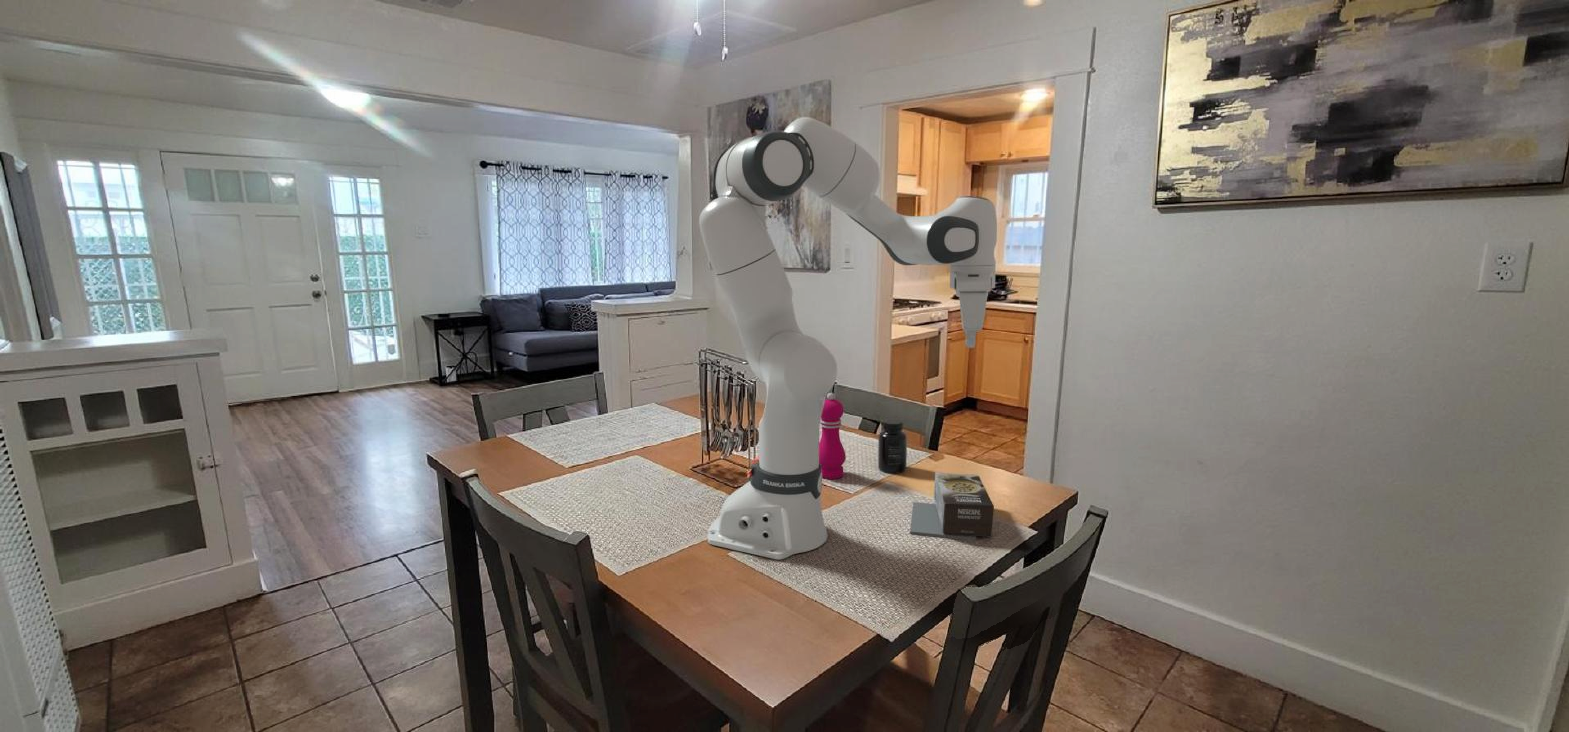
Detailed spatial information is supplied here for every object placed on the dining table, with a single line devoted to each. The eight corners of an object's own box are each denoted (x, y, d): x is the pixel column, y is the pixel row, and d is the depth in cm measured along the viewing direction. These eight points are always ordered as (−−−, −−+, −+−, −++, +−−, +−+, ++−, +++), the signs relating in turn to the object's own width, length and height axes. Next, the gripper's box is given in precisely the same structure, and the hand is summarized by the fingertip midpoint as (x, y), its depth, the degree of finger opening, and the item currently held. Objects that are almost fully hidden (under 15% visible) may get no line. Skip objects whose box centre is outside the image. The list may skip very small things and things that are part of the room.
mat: (909, 533, 118) (910, 531, 118) (913, 504, 132) (913, 501, 131) (976, 540, 115) (976, 538, 115) (972, 509, 129) (972, 507, 129)
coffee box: (979, 473, 130) (995, 505, 114) (977, 502, 131) (993, 538, 115) (934, 471, 131) (945, 502, 115) (932, 500, 132) (943, 535, 116)
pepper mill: (810, 471, 151) (810, 390, 147) (838, 467, 153) (839, 388, 149) (821, 481, 144) (821, 397, 140) (850, 478, 146) (851, 395, 142)
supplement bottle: (910, 467, 153) (912, 420, 151) (899, 476, 147) (901, 427, 145) (884, 462, 157) (885, 416, 154) (873, 470, 151) (874, 422, 149)
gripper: (955, 276, 137) (954, 338, 140) (956, 283, 118) (954, 355, 121) (985, 275, 136) (983, 338, 138) (991, 283, 116) (988, 356, 119)
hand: (970, 346), depth 129 cm, fingers closed
